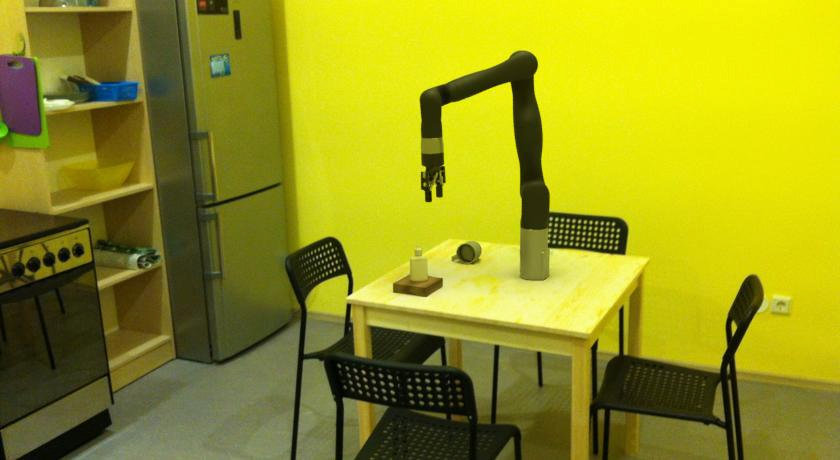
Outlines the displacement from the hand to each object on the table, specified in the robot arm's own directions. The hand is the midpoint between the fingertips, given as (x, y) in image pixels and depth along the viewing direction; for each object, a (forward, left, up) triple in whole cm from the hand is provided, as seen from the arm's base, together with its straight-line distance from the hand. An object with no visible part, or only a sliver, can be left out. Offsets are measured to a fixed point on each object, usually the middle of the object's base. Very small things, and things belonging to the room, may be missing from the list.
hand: (434, 199), depth 269 cm
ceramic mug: (0, -25, -28) cm, 37 cm away
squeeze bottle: (-1, +13, -25) cm, 28 cm away
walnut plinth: (0, +13, -27) cm, 30 cm away
